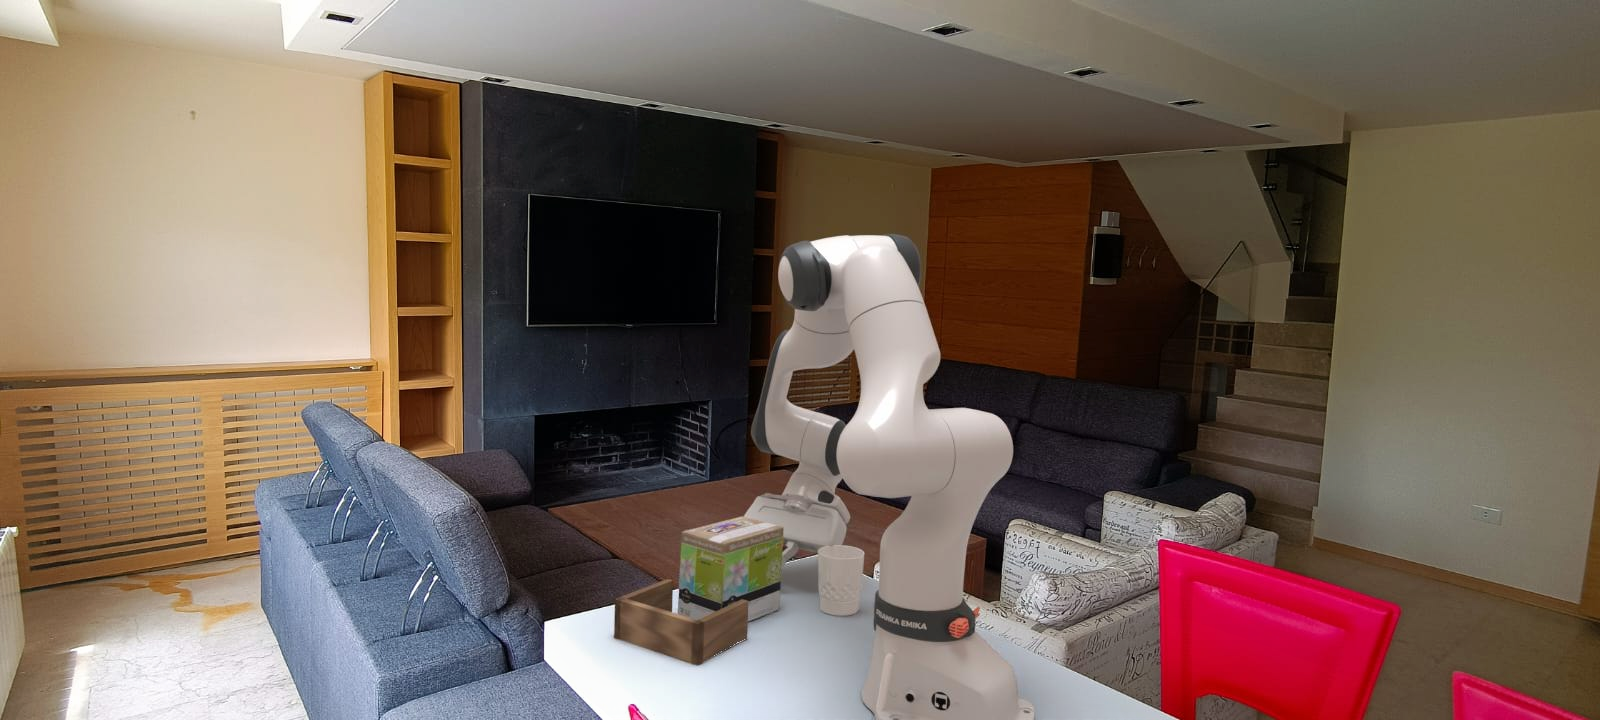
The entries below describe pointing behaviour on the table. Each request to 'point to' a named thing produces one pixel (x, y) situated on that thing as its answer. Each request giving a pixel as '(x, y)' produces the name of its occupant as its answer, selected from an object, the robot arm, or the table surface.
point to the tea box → (730, 567)
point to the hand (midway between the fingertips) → (774, 564)
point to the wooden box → (677, 625)
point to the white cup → (840, 579)
